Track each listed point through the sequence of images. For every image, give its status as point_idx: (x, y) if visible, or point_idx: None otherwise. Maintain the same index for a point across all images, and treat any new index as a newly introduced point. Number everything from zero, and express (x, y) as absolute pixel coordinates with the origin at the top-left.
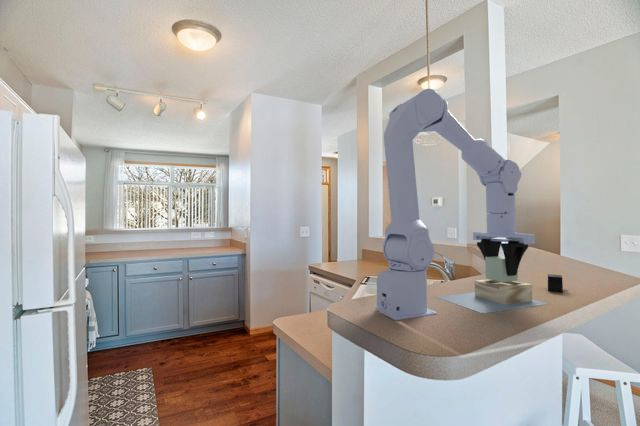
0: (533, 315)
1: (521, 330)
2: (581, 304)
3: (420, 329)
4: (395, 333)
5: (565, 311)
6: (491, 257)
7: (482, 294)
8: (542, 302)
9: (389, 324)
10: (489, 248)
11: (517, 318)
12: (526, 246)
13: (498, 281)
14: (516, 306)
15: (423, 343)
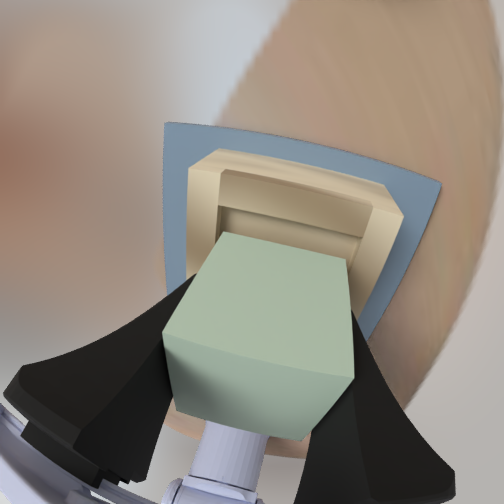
0: (421, 321)
1: (412, 395)
2: (493, 69)
3: (304, 443)
4: (295, 452)
5: (483, 218)
6: (213, 418)
7: None
8: (420, 182)
9: (268, 445)
10: (145, 440)
11: (395, 360)
12: (440, 488)
13: (220, 219)
14: (371, 302)
15: None
